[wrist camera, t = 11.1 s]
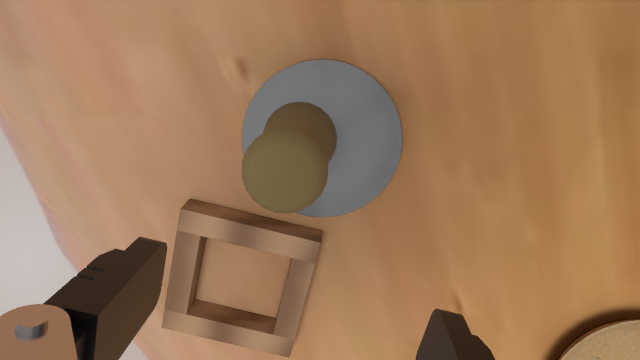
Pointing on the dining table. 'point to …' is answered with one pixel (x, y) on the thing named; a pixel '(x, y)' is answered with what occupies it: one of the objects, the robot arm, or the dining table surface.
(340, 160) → the slate coaster
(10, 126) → the dining table surface
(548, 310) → the dining table surface
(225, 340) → the holder board
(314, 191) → the cork
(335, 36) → the dining table surface
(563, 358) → the plant saucer
